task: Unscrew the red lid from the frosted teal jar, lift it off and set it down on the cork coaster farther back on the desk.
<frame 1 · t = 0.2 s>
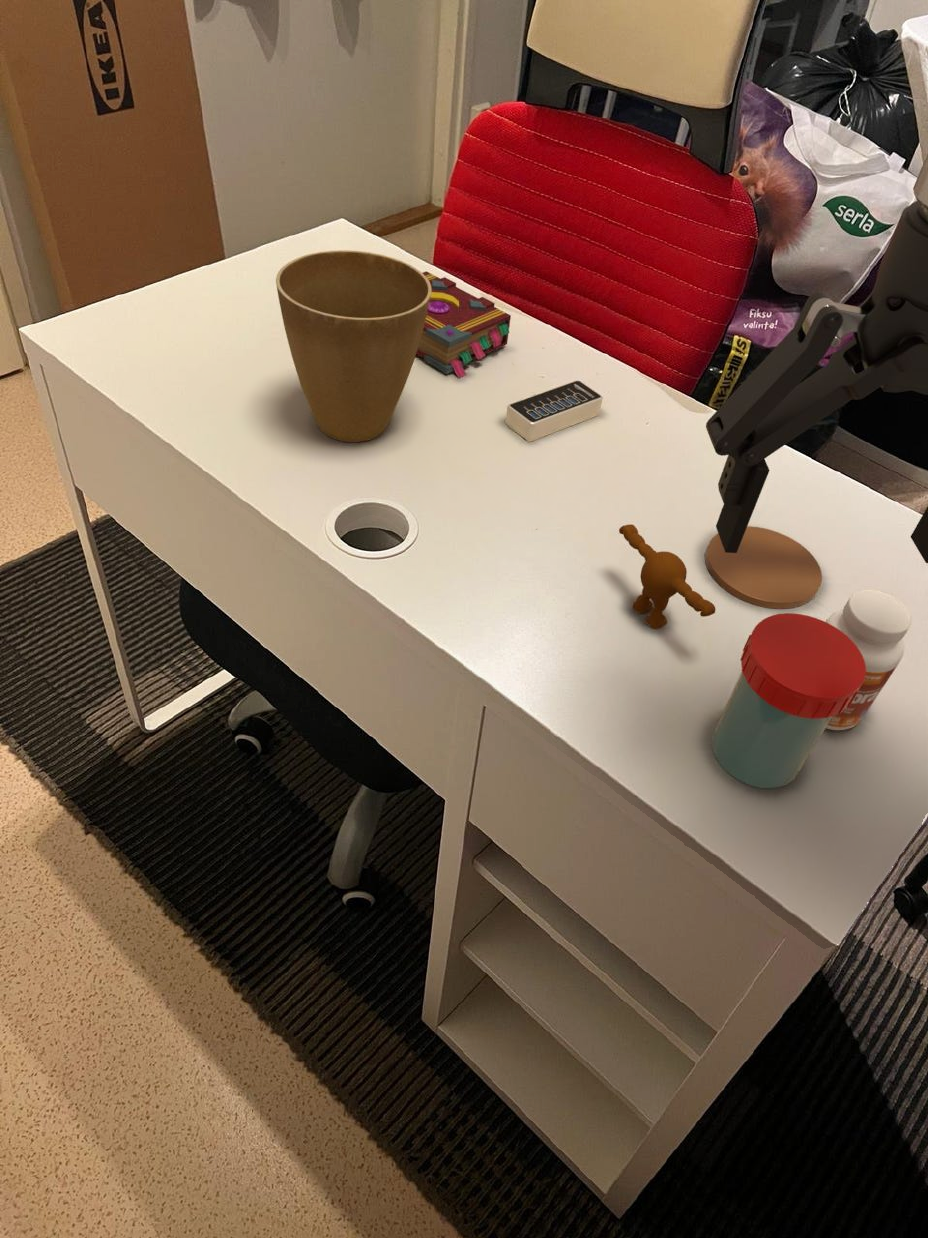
hand: (825, 545, 60), 19 cm above the table, tool pointing down, fingers open, 13 cm apart
decorative book: (437, 340, 113), on the table
jar: (755, 751, 71), on the table
toy figurine: (649, 616, 81), on the table
pill bottle: (823, 705, 76), on the table
plant pot: (353, 424, 98), on the table
multiport hub: (552, 419, 103), on the table
coaster: (761, 568, 87), on the table
cap: (806, 657, 63), point 11 cm above the table, screwed on, not yet turned
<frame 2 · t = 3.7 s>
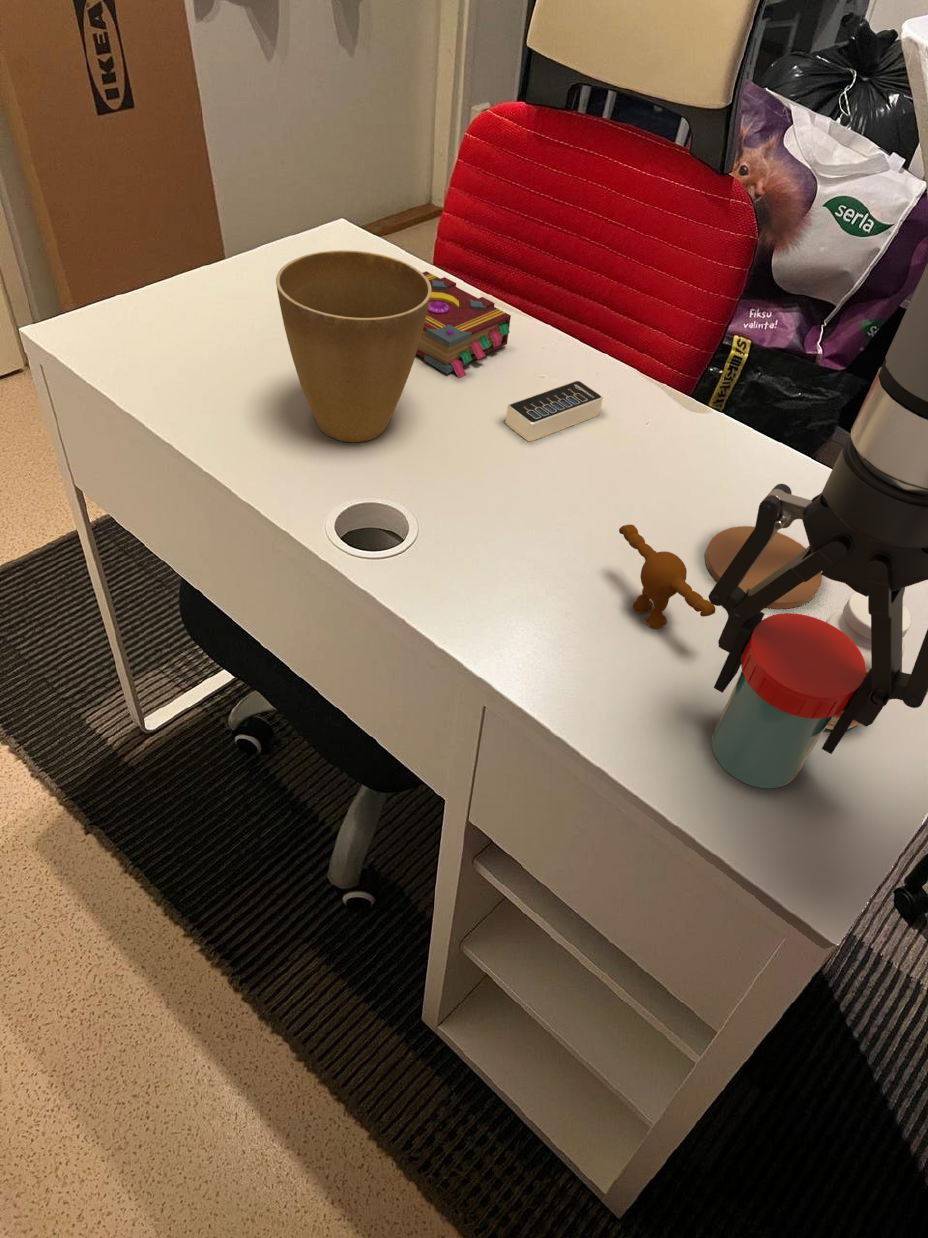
hand: (778, 709, 67), 5 cm above the table, tool pointing down, fingers closed on cap, 8 cm apart
cap: (806, 657, 63), point 11 cm above the table, screwed on, not yet turned, touching gripper
everything else where it was.
when the fingers open (5 cm above the table, at t = 5.5 s): cap stays where it is, point 11 cm above the table.
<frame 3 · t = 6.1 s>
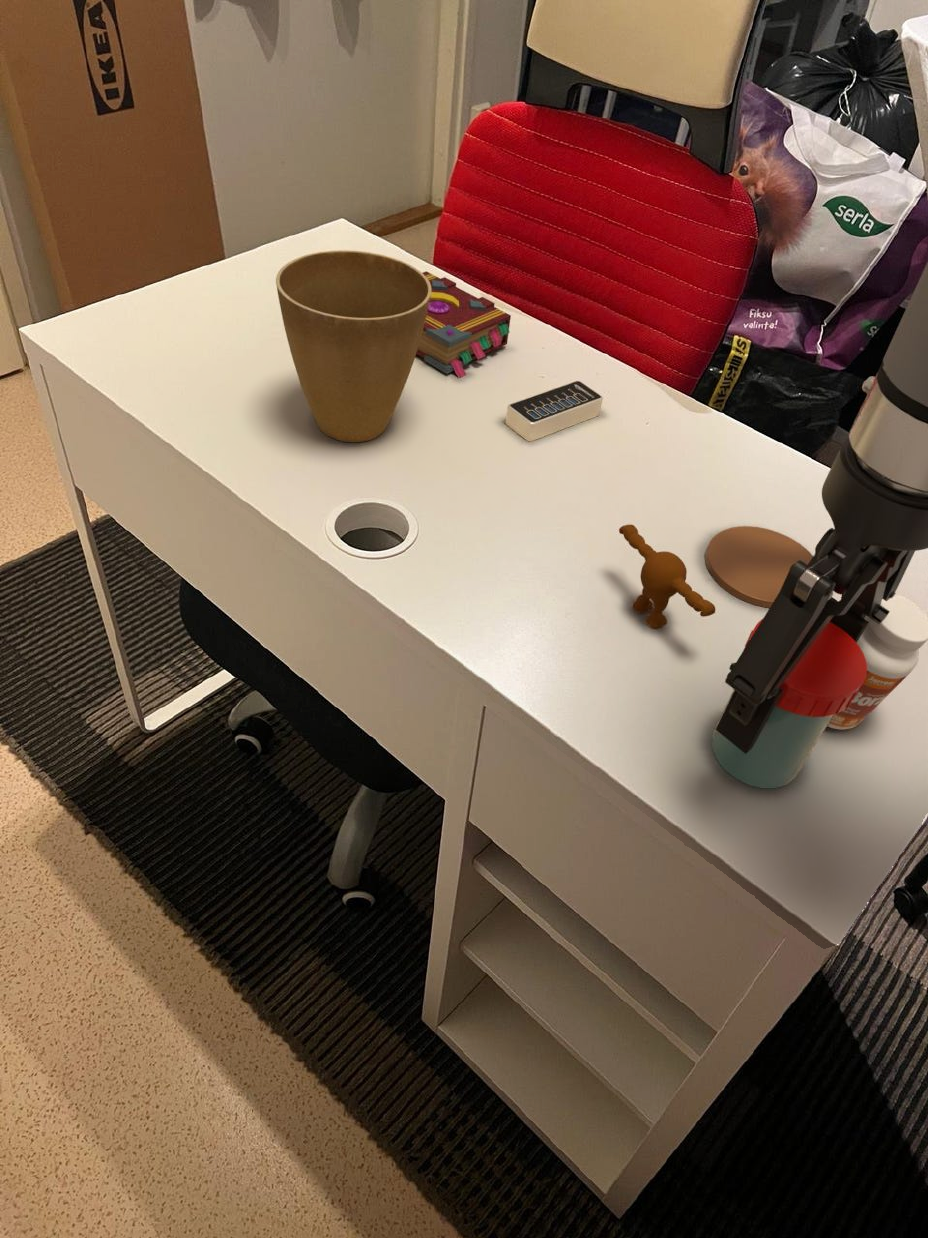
hand: (776, 704, 67), 6 cm above the table, tool pointing down, fingers open, 10 cm apart
pill bottle: (825, 702, 75), on the table, touching gripper
cap: (807, 655, 63), point 11 cm above the table, turned 130° so far, risen 0.2 cm, still on its thread
everything else where it was.
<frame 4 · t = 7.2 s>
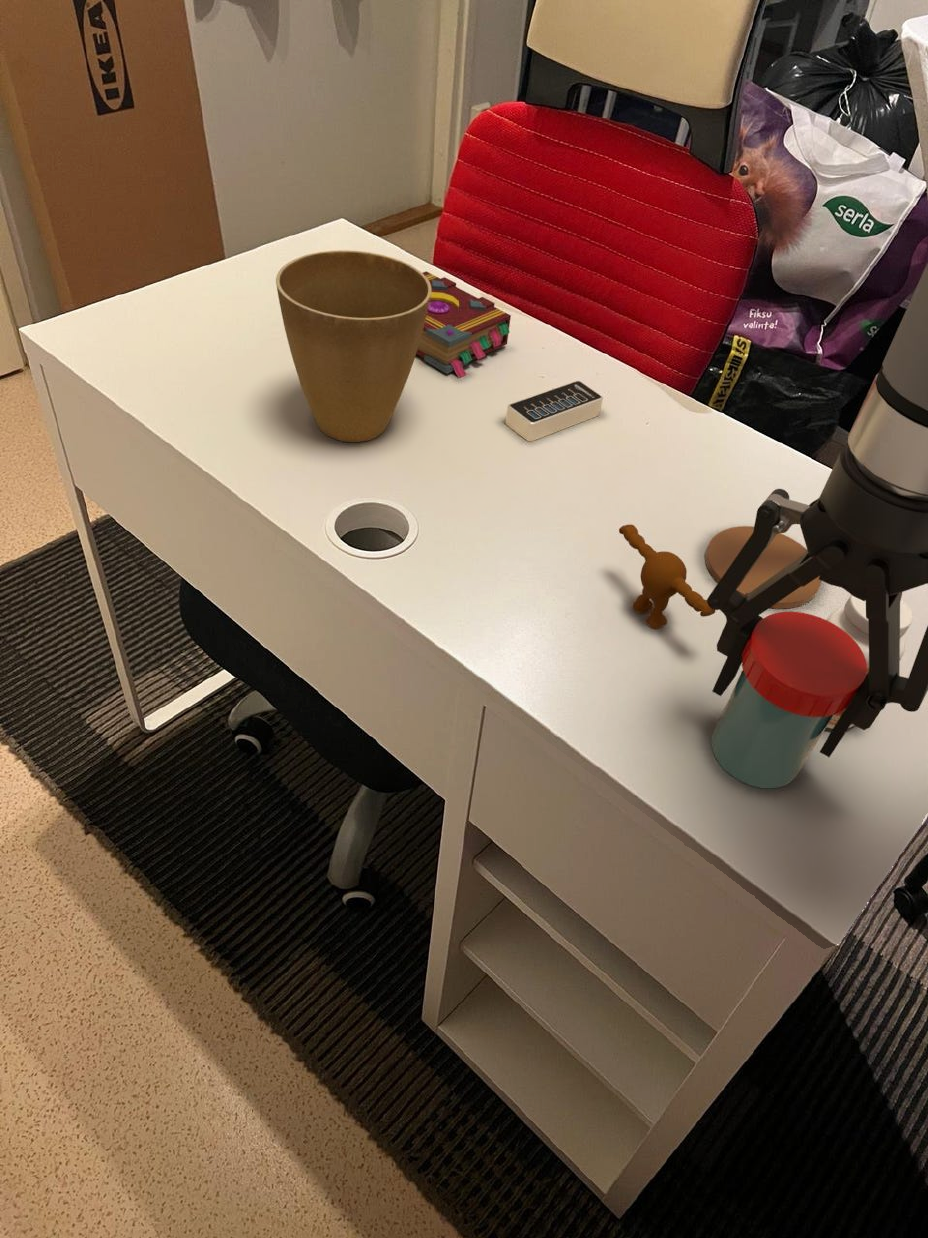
hand: (776, 712, 68), 5 cm above the table, tool pointing down, fingers closed on cap, 8 cm apart
pill bottle: (823, 704, 76), on the table
cap: (807, 655, 63), point 11 cm above the table, turned 130° so far, risen 0.2 cm, still on its thread, touching gripper
everything else where it was.
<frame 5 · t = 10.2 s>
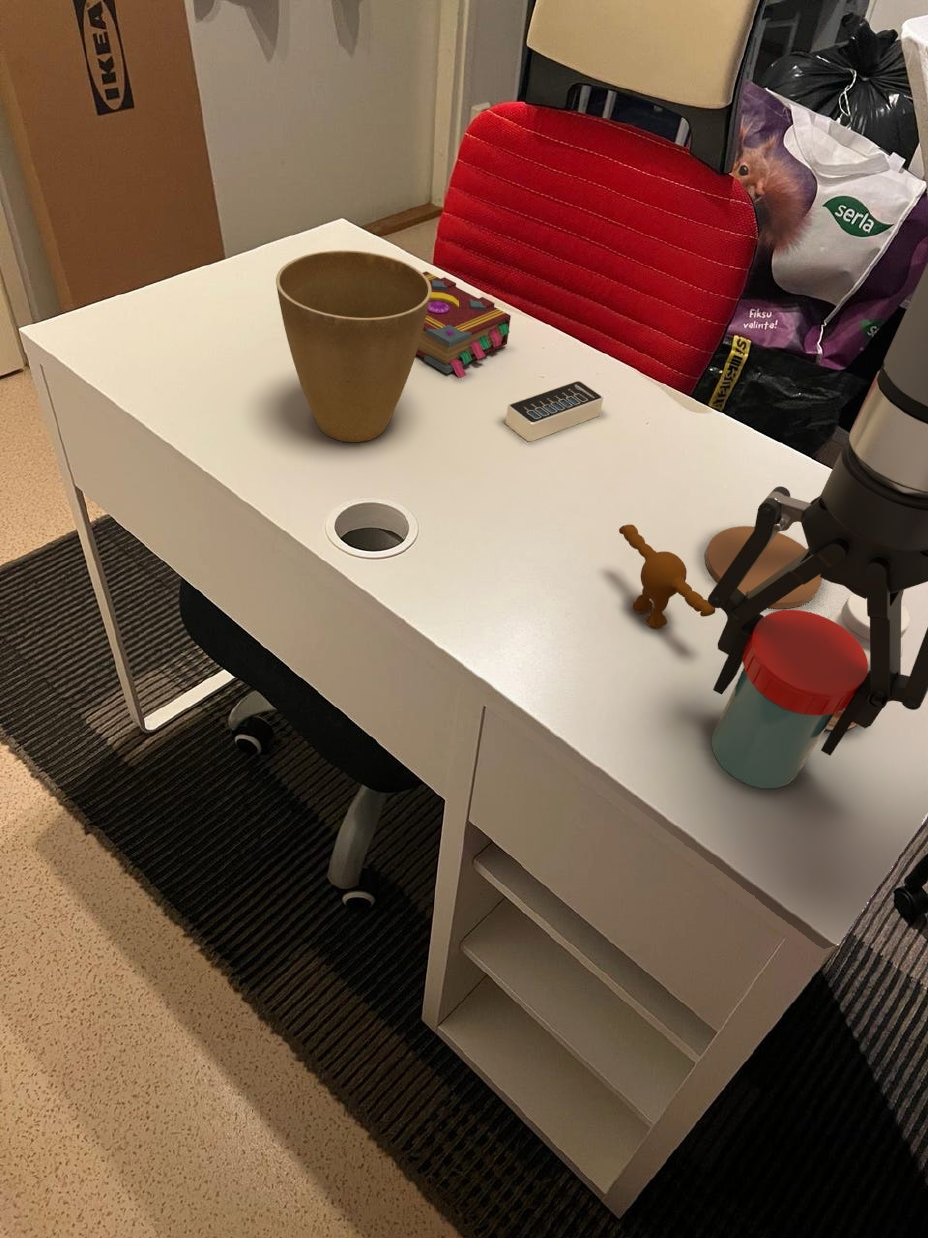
hand: (777, 711, 68), 5 cm above the table, tool pointing down, fingers closed on cap, 8 cm apart
cap: (807, 653, 63), point 11 cm above the table, turned 260° so far, risen 0.4 cm, still on its thread, touching gripper
everything else where it was.
when the fingers open (3 cm above the table, at t = 18.6 s): cap drops 6 cm, resting on coaster.
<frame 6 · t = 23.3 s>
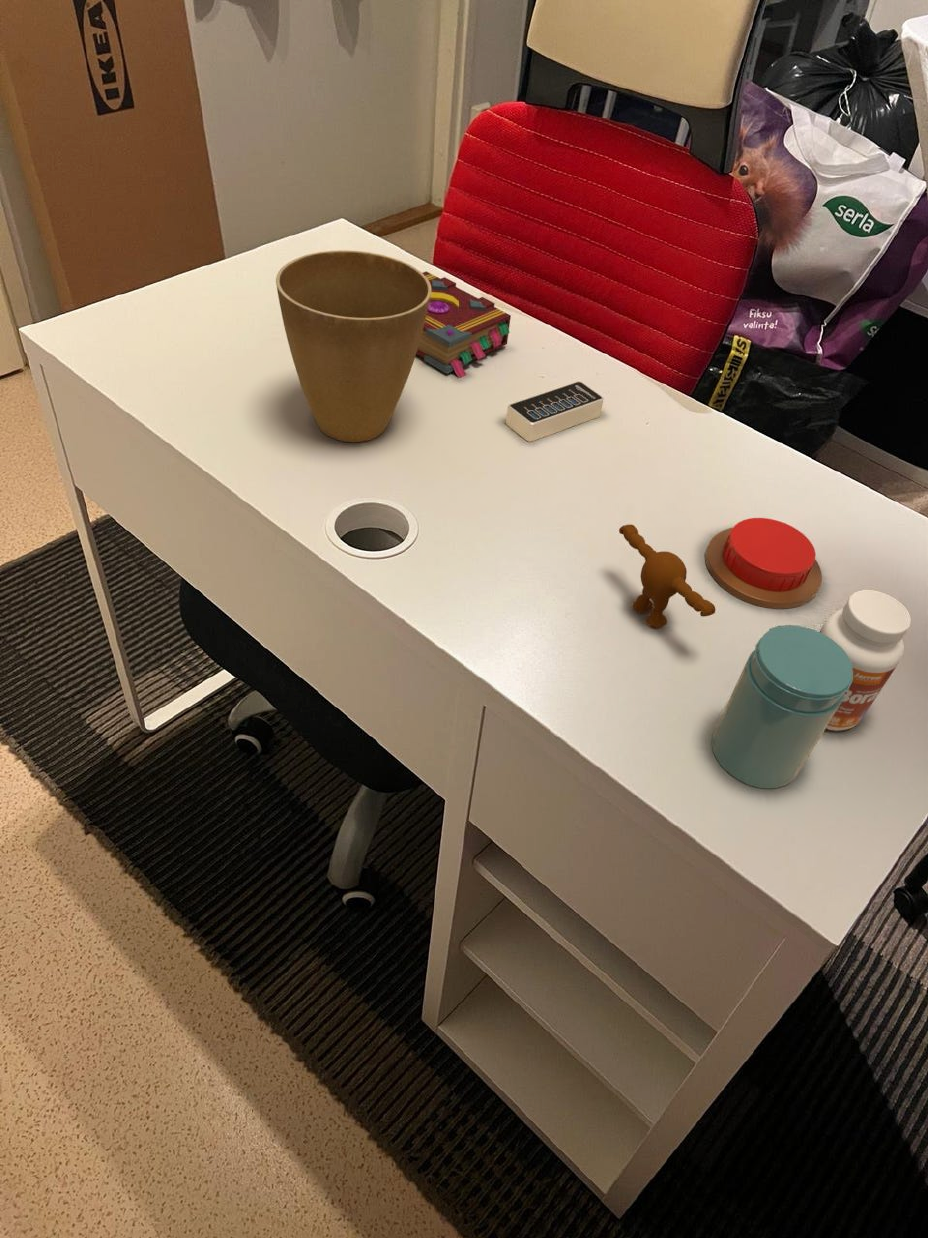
cap: (771, 547, 85), point 3 cm above the table, off its thread, touching coaster
everything else where it was.
at the end: cap came off its thread; cap inside the target area on the coaster (0.0 cm from its centre), point 2.7 cm above the coaster's base; the gripper is holding nothing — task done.
